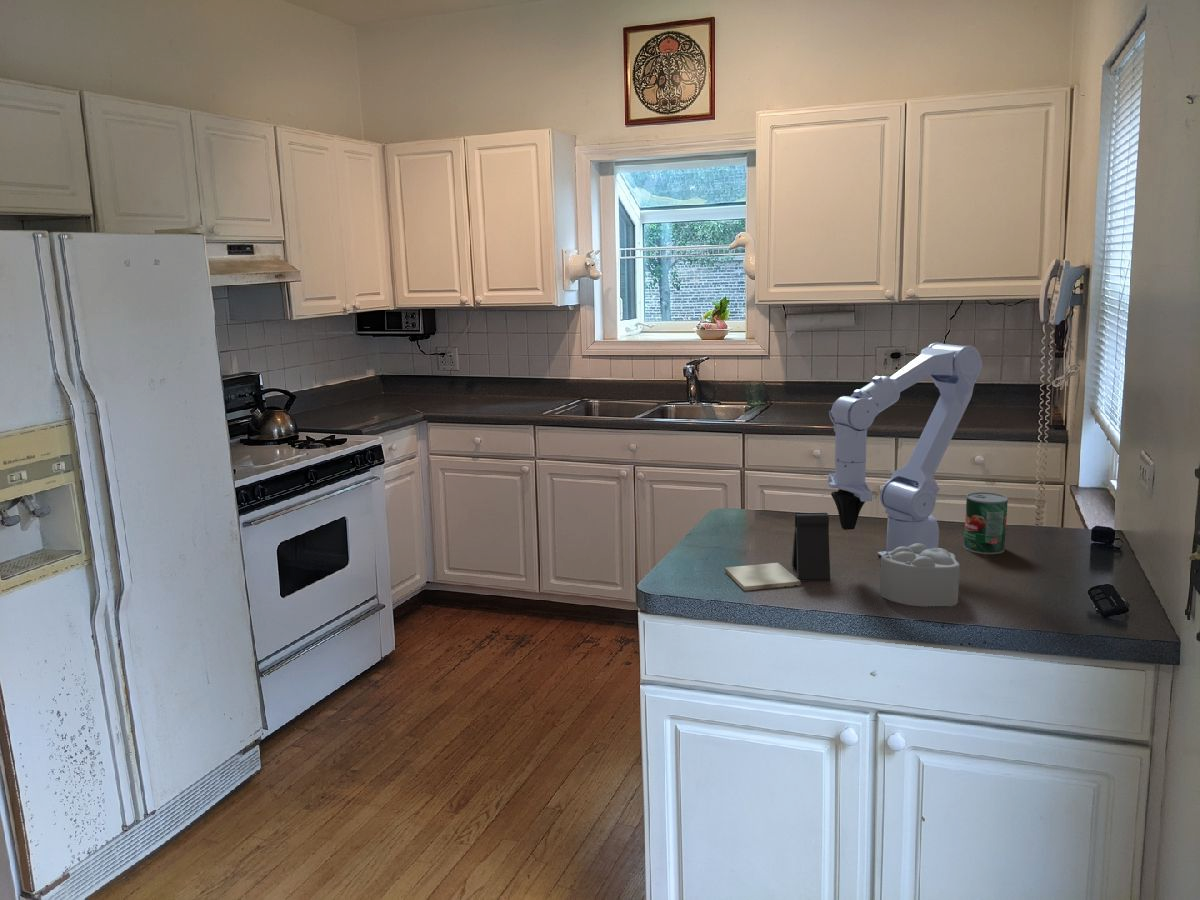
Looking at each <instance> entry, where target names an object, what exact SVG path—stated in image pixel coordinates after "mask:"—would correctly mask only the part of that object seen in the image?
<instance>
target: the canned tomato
mask: <svg viewBox="0 0 1200 900" xmlns="http://www.w3.org/2000/svg"><path fill="white" fill-rule="evenodd" d="M1008 500H1009V498H1008V497H1007V496H1006V495H1003V494H1000V493H995V492H986V491H985V492H984V491H978V492H976V491H975V492H971V493H967V494H966V504H965V521H964V524H965V525H964V539H963V540H964V541H963V548H964V549H965V550H966V551H969V552H971V553H975V554H979V555H980V554H981V555H998V554H1003V553H1005V550H1006V548H1005V547H1006V531H1007V519H1008V518H1007V517H1008V502H1009V501H1008Z"/></svg>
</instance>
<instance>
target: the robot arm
mask: <svg viewBox="0 0 1200 900" xmlns="http://www.w3.org/2000/svg"><path fill="white" fill-rule="evenodd" d="M983 367H984V366H983V361H982V358H981V354H980V351H979V350H978V349H977V347H975V346H972V345H959V344H958V345H957V344H949V343H942V342H933V343H931V344H929V345H928V346H927V347H925V348H923V349H921V351H920V354H919V355H918V356H916V357H915V358H914V359H912V360H911V361H909V362H908V363H907V364H906V365H905V366H903V367H901V369H899V370H897V372H895V373H894V374H892V375H891V376H887V375H881V376H879V375H875V376H874V377H872V378H871V381H870V382H869V383H868V384H866V385H864V386H863V387H861V388H860V389H855V390H854V391H853V393H852V394H851V395H850V396H849V395H847V396H846V395H842V396H840V397H838V398H837V399H836V400H835V401H834V402H833V404H832V406H831V410H829V411H828V414H829V419H830V421H831V422H832V423H833V432H834V433H835V437H834V438H835V439H834V440H835V441H834V442H835V443H834V447H835V448H834V473H832V474H831V473H829V474H828V475H827V477H828V479H827V480H828V481H827V484H828V487H829V488H832V489H837V491H832V492H831V493H830V495H831V497H832V499H833V501H834V504H835V505H836V509H837V512H838V513H837V514H838V517H839V522H840V526H841V529H842V530H844V531H847V530H855V528H856V525H857V522H858V518H859V516H860V513H861V511H862V508H863V506H864V504H865V503H866V502H872V501H873V490H871V489H870V487H869V486H868V484H867V482H866V470H867V469H866V467H867V443H868V442H867V438H868V437H867V436H868V428H870V427H871V426H872V424H873V422H874V421H875V418H876V417H877V416H878V414H880V413H881V412H883V411H885V410H886V409H887V408H889V407H891V406H892V405H894V404H895V403H897V402H898V401H899V399H900V397H901V392H903V391H905V390H906V389H908V388H910V387H912V386H914V385H915V384H917V383H919V382H921V381H923V380H925V379H926V378H928V377H930V379H931V380H932V383H933V384H934V385H935V387H936V388H938V392H939V393H940V394H939V397H938V399H937V401H936V403H935V406H934V408H933V410H932V411H931V413H930V416H929V418H928V420H927V422H926V424H925V426H924V427H923V431H922V433H921V434H920V437H919V439H918V441H917V443H916V445H915V447H914V448H913V451H912V453H911V455H910V457H909V459H908V462H907V463H906V464H905V465H904V466H901V467H899V468H898V469H895V470H894V471H893V472H892V476H891V477H890V479H888V480H887V481H886V482H885V483H884V484H883V485H882V488H881V490H880V494H879V499H880V503H881V505H882V506H883V507H884V508H885V514H887V524H886V526H887V527H886V550H885V551H877V555H878V556H880V557H881V556H882V555H883V554H885V553H887V552H890V551H893V550H894V549H895V548H897V547H901V546H904V547H908V546H910V545H912V544H915V543H920V544H924V545H925V546H926V547H927V548H928V549H932V548H939V540H940V538H939V537H940V528H939V527H940V526H939V523H938V520H937V519H936V518H935V517H934V516H933V515H932V513H933V512H934V510H935V506H936V502H937V501H936V500H937V495H938V494H939V493H938V492H939V491H940V487H939V484H938V483H937V481H936V479H935V477H934V475H935V474H936V472H937V470H938V468H939V465H940V463H941V461H942V459H943V457H944V455H945V453H946V451H947V449H948V447H949V445H950V443H951V440H952V439H953V437H954V434H955V433H956V430H957V428H958V426H959V424H960V422H961V420H962V418H963V416H964V414H965V412H966V410H967V407H968V405H969V403H970V401H971V399H972V396H973V393H974V387H975V384H976V382H977V380H978V378H979V376H980V374H981V371H982V369H983Z"/></svg>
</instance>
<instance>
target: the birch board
mask: <svg viewBox="0 0 1200 900" xmlns="http://www.w3.org/2000/svg"><path fill="white" fill-rule="evenodd" d="M724 572H725V574H726V575H728V576H729V577H730V578H731V579H732V581H734V582H735V583H736V584H737V585H738V586H739V587H740V588H741V589H742V590H743V591H745V592H746V591H755V590H764V589H766V588H767V589H775V587H777V588H785V587H784V586H787V587H795V586H794V585H797V586H801V581H800V580H798V579H797V577H796V575H794V574H792V573H791V572H790V571H788V569H786V568H785V567H784V566H783V565H781V564H780V563H779V562H770V563H760V564H750V565H749V564H748V565H740V566H738V565H736V566H727V567H724Z"/></svg>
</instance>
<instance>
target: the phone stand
mask: <svg viewBox="0 0 1200 900" xmlns="http://www.w3.org/2000/svg"><path fill="white" fill-rule="evenodd" d="M829 517H830V515H829V514H828V512H795V514H794V534H793V543H792V544H793V545H792V557H791V568H792V567H793V568H792V570H793V569H794V570H793V573H794V574H796V575H795V577H796V576H797V577H796V578H798V580H800V582H803V581H804V582H814V581H815V582H820V581H821V582H823V581H824V582H828V581H829V582H830V581H831V563H830V561H831V559H830V534H829V533H830V532H829V530H830V529H829V527H830V518H829Z"/></svg>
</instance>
